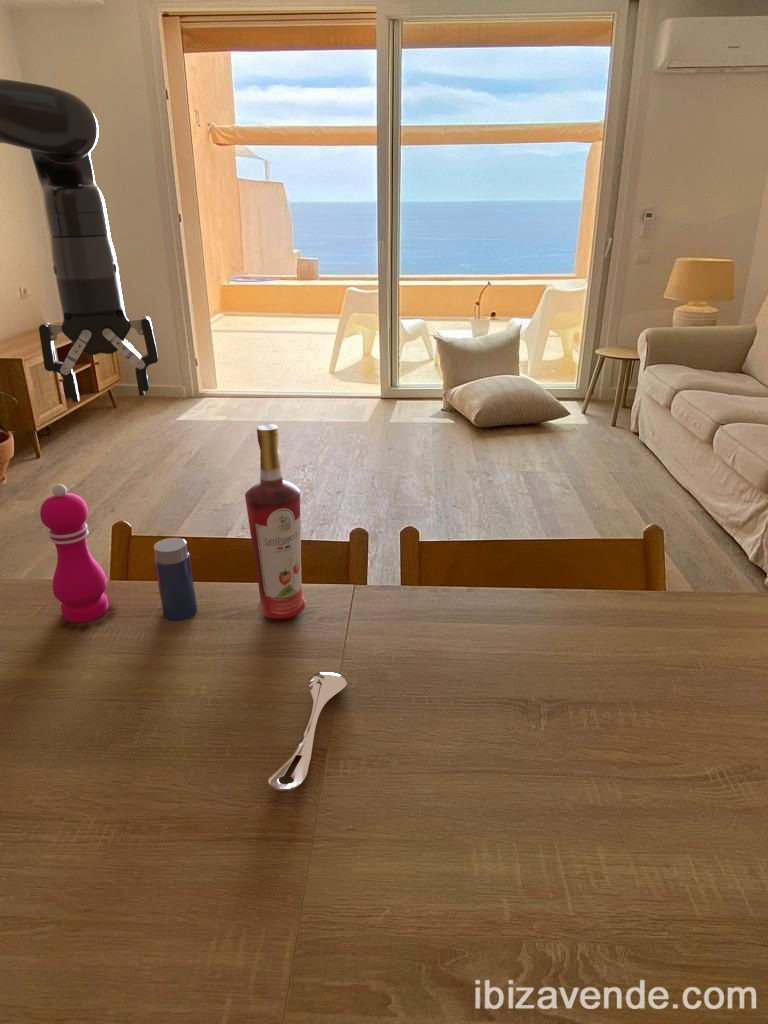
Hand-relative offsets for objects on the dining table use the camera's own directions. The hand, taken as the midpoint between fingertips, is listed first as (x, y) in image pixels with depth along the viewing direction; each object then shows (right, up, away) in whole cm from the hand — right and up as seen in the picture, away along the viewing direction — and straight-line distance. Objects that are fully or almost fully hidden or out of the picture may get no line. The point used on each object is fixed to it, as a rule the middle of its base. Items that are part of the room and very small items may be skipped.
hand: (109, 397), depth 95 cm
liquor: (+23, -31, +5) cm, 39 cm away
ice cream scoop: (+30, -41, -18) cm, 54 cm away
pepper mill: (-6, -30, +6) cm, 32 cm away
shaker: (+8, -30, +6) cm, 32 cm away
